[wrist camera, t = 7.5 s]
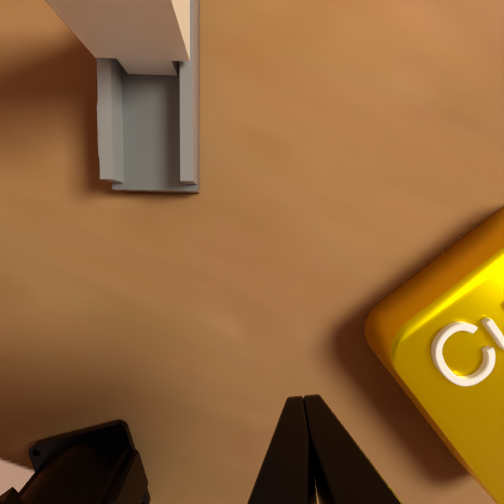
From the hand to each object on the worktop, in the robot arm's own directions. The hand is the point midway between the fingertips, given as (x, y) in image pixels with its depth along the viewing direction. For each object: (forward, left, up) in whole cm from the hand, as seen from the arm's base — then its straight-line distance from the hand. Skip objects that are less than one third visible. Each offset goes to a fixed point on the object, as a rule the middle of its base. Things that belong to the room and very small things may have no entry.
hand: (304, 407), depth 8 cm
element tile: (+15, -7, -13) cm, 22 cm away
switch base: (-3, +14, -13) cm, 19 cm away
